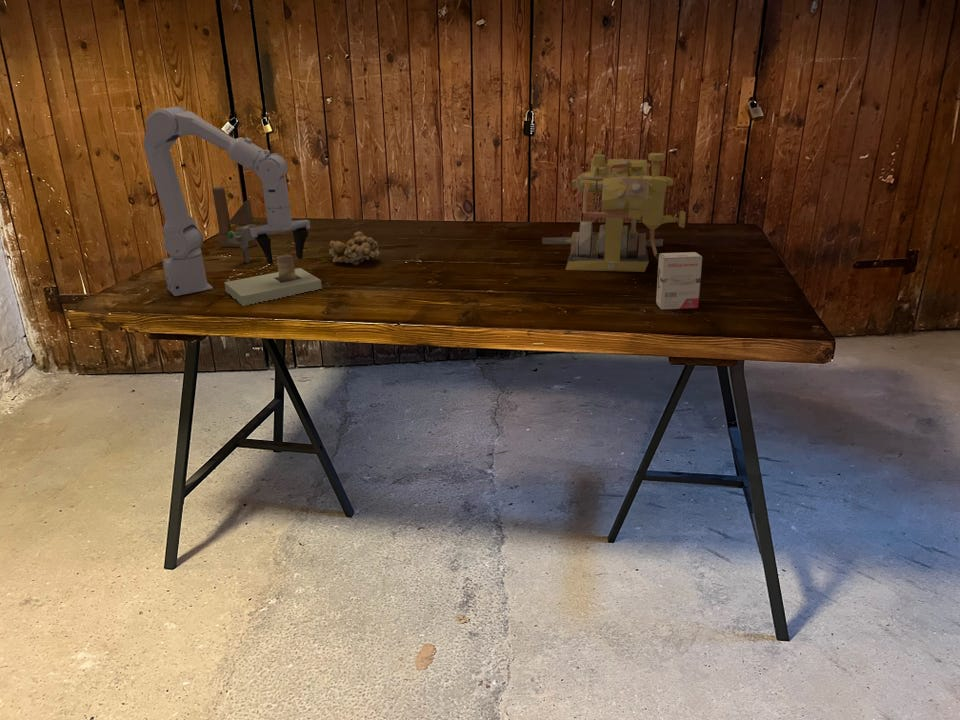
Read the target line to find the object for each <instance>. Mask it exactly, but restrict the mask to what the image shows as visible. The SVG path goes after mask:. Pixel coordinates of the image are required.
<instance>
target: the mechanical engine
mask: <svg viewBox="0 0 960 720" xmlns="http://www.w3.org/2000/svg"><path fill="white" fill-rule="evenodd" d="M647 157H648V160H647V159H633V158H632V159H630V158H629V159H626V158H624V157H621V158H609V159H607V163H606V155H605V154H602V149H599V148H597V153H596V154H593V157H592V160H591V163H590V172H589V171H587V172H586V171H585V172H581V173H580V174H579V176H578V177H577V179H572V186H574V187H576V189H577V191H579V192H583V193H582V211H581V212H582V214H583V215H584V216H585V217H587V218H605V223H604V224H600V226H599V232H597V231H596V232H595V231H594V232H593V221H580V223H579V224H580V225H579V231H573V232H572V234H571V236H560V237H559V236H558V237H556V236H555V237H542V238H541V241H542V242H541V243H542V245H570V253H569V255H568V258H567V262H566V266H565V271H596V272H598V271H599V272H600V271H601V272H629V273H630V272H632V273H633V272H637V273H639V272H641V273H644V272H646V269H647V267H648V265H649V263H650V260H649V255H648V250H647V248H646V247H651V249H652V252H653V255H654V258H656V260H659V254H658V251H657V248H656V247H663V246H664V238H655V231H656V230H657V228H659V227H660V226H661V225H663V224H667V223H674V222H678V224H677V225H678V227H680V228H682V229H685V226H686V225H685V224H686V211H685V210H679V213H678V216H677V217H676V216H675V217H674V216H673V215H672V214H670V215H669V214H667V215H665V214H664V210H665V209H664V207H665V198H666V193H667V187H674V181H675V180H674V178H672V177H669V176H665V175H664V176H662V175H660V171H661V167H660V163H659V162H661V161H665V160H666V154H665V153H662V152H650V153H648V156H647ZM648 161H651V163H648ZM651 165H652V166H651ZM650 167H651V175H650V172H649V170H648V168H650ZM589 193H602V195H601V211H588V199H589V198H588V196H589ZM641 217H642V218H641ZM625 219H631V222H630V228H629V226H628V225H624V220H625ZM641 219H642V221H641V222H642V223H643V225H644V226H645V227H646V228H647V229H648V230H649V239H646V238H647V233H645V232H644V233H640V232H639V231H637V229H636V228H637V221H638V220H641ZM628 229H629V230H628Z"/></svg>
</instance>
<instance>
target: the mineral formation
mask: <svg viewBox="0 0 960 720" xmlns="http://www.w3.org/2000/svg"><path fill="white" fill-rule="evenodd" d="M329 247H331V248H329V250H328V252H329V253H328V254H329V255H330V256H332V257H333V259H332V263H334V264H335V263H338V264H341V262H342V263H343V262H344V263H346V264H348V263H351V264H352V265H354V266H358V265H359V264H360V263H363V262H364V261H366V260H367V261H369V260H370V258H375V259H376V258H379V257H380V254H381V252H380V251H379V246H378V242H377V241H376V240H375V239H373V237H368V236H366V235H364V233H363V232H362V231H357V232H354V234H353V238H351V239H349V240H348V241H347V242H346V243H345V242H341V241H339V240H336V241H335V240H330V242H329ZM339 262H340V263H339Z"/></svg>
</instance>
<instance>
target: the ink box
mask: <svg viewBox="0 0 960 720" xmlns="http://www.w3.org/2000/svg"><path fill="white" fill-rule="evenodd" d="M702 265H703V256H702V255H700V254H699V253H698V252H695V251H690V252H662V253H661V252H660V253H658V267H657V279H656V281H657V282H656V294H655V295H656V297H655V299H656V300H655V303H656V305H657V306H658V307H659V308H660V310H680V309H683V310H685V309H698V308H699V302H700V301H699V300H700V292H701V291H700V290H701V278H702V267H703V266H702Z"/></svg>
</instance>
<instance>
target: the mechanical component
mask: <svg viewBox="0 0 960 720" xmlns="http://www.w3.org/2000/svg"><path fill="white" fill-rule="evenodd" d="M254 227H258V226H257V225H256V224H254V225H246V226H242V227H239V226H238V227H236V228H235V232H234V231H233V230H232V231H229V232H228V233H227V234H226V236H227V238H228V242H229V243H231V244H240V247H239V248H240V249H241V251H242V258H243V263H246V264H249V262H250V261H251V259H250V256H249V248H250V247H249V245H248V241H250V240H254V239H255V237H252V236H251V233H250V228H254ZM236 238H237V239H238V240H237V241H236ZM250 263H251V262H250Z"/></svg>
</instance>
